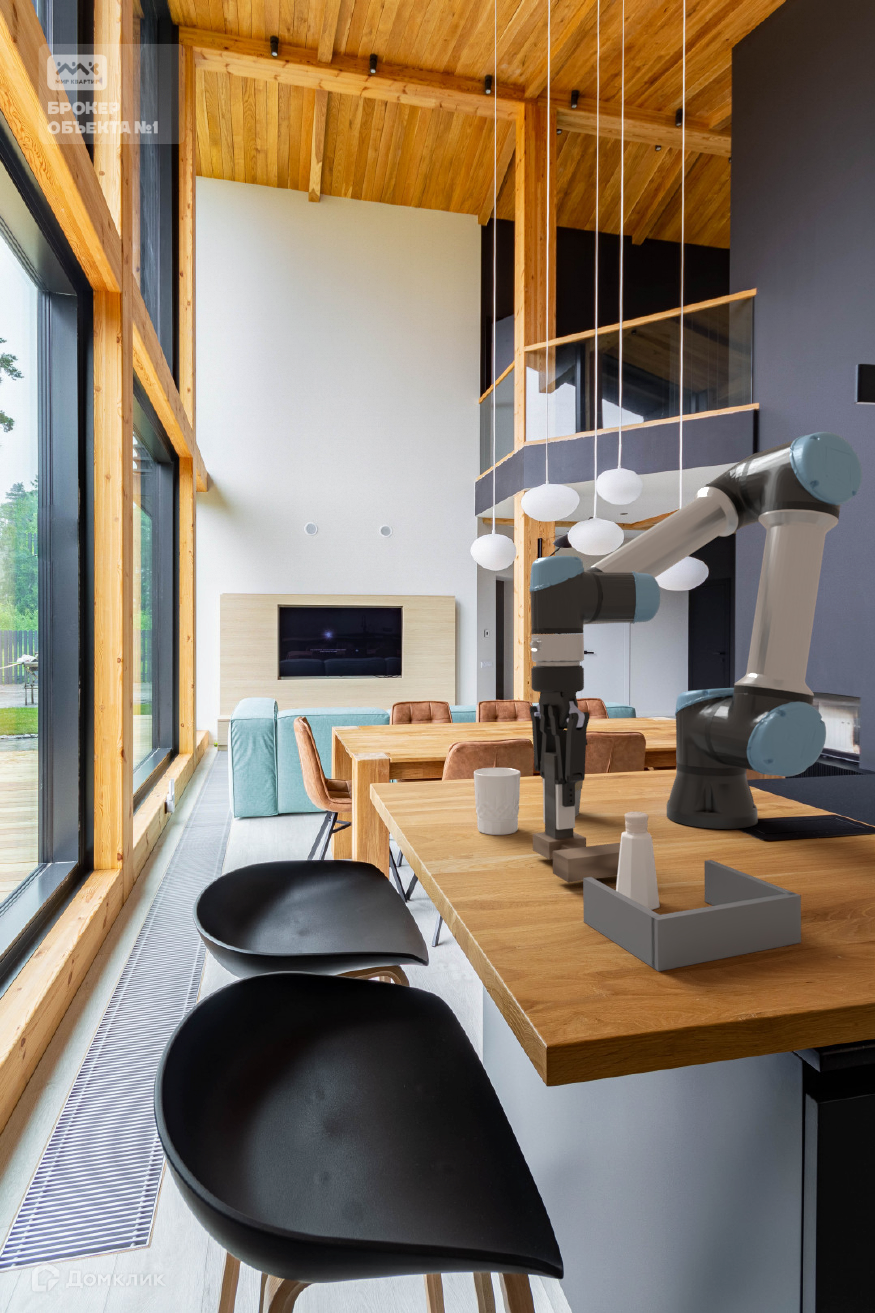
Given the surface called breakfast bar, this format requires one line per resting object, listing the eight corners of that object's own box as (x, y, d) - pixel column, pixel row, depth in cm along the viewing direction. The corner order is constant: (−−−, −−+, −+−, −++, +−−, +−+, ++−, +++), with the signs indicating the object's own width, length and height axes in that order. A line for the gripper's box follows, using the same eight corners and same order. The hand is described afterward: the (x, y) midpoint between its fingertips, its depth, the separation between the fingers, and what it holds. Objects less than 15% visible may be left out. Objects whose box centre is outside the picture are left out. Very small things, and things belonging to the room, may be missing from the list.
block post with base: (583, 844, 110) (582, 748, 110) (640, 872, 97) (640, 763, 96) (517, 852, 107) (516, 753, 106) (568, 882, 93) (567, 769, 93)
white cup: (471, 825, 127) (470, 768, 127) (516, 823, 128) (515, 767, 128) (477, 837, 119) (477, 776, 119) (525, 835, 120) (524, 775, 120)
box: (711, 900, 89) (711, 859, 89) (800, 942, 76) (800, 895, 76) (583, 921, 83) (583, 878, 83) (658, 971, 70) (657, 920, 70)
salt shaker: (653, 915, 85) (652, 821, 84) (607, 906, 88) (607, 815, 87) (665, 900, 89) (665, 811, 89) (622, 893, 92) (621, 806, 92)
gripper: (509, 663, 112) (511, 815, 112) (562, 666, 97) (564, 842, 97) (553, 662, 114) (554, 811, 115) (610, 664, 99) (612, 836, 100)
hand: (559, 824), depth 106 cm, fingers closed on block post with base, 3 cm apart
